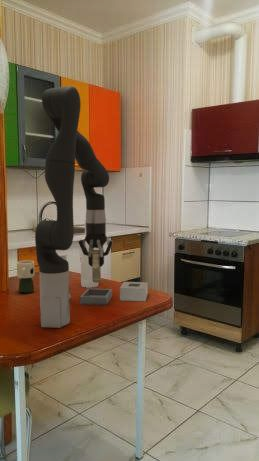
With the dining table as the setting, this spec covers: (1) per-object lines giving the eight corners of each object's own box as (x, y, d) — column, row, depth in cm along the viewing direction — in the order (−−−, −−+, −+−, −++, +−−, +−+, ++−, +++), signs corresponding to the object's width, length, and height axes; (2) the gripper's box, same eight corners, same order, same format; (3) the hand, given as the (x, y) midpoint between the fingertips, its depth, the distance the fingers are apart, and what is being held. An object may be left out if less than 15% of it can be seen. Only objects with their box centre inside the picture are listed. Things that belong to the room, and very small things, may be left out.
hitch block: (145, 301, 144) (145, 288, 144) (120, 300, 145) (119, 287, 145) (147, 294, 154) (147, 282, 153) (123, 293, 155) (123, 281, 155)
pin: (101, 282, 142) (100, 251, 141) (89, 282, 143) (89, 251, 142) (103, 280, 147) (102, 249, 145) (92, 279, 147) (91, 249, 146)
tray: (106, 305, 139) (106, 297, 139) (80, 304, 140) (80, 296, 140) (112, 296, 151) (112, 289, 150) (87, 295, 152) (87, 288, 152)
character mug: (33, 295, 153) (32, 264, 151) (15, 296, 152) (14, 264, 151) (37, 288, 164) (36, 259, 162) (20, 289, 163) (19, 259, 161)
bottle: (78, 285, 169) (76, 219, 166) (93, 282, 174) (92, 218, 171) (86, 288, 163) (84, 220, 160) (101, 286, 167) (101, 219, 164)
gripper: (75, 222, 139) (76, 267, 141) (112, 222, 138) (112, 268, 140) (80, 220, 147) (81, 263, 149) (115, 220, 145) (116, 264, 147)
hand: (96, 265), depth 144 cm, fingers closed on pin, 3 cm apart
